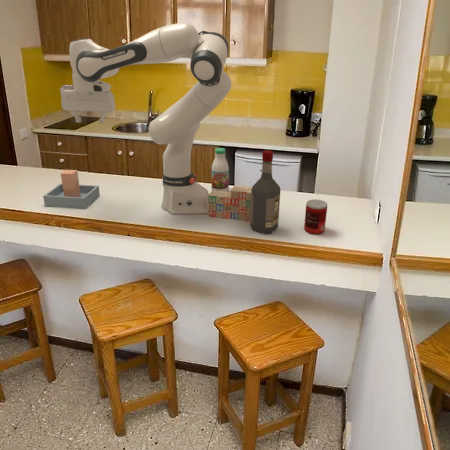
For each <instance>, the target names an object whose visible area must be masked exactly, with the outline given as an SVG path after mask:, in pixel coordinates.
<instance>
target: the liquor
mask: <svg viewBox="0 0 450 450" xmlns="http://www.w3.org/2000/svg"><path fill="white" fill-rule="evenodd" d="M273 159H274V151H273V150H269V149H267V150H263V151H262V159H261V160H262V166H261V167H262V168H261V175H260V178H259V179H258V180H257V181H256V182H255V183H254V184H253V185H252V186H251V187H252V190H251V219H250V222H249V224H250V228H251V230H252V231H253V232H255V231H256V232H255V233H258V232H259V234H262V233H263V235H268V234H269V233H271V234H273V233H274V232H275V231H276V230H277V229H278V228H279V220H280V219H279V218H280V204H281V203H280V202H281V191H282V190H281V187H280V185H279V184H278V182H276V180H275V179H274V178H273V174H272V173H273V170H272V169H273V161H274V160H273Z"/></svg>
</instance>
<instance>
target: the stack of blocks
mask: <svg viewBox="0 0 450 450" xmlns="http://www.w3.org/2000/svg"><path fill="white" fill-rule="evenodd" d="M252 187H253V186H246V185H245V186H244V185H242V186H241V185H234V186H233V187H232V189H231V191H228V192H225V191H215V190H212V189H211V192H210V193H209V213H208V217H210V218H219V219H226V220H234V221H242V222H249V223H250V219H251V190H252Z"/></svg>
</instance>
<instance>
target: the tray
mask: <svg viewBox="0 0 450 450" xmlns="http://www.w3.org/2000/svg"><path fill="white" fill-rule="evenodd" d="M79 186H80V193H81V197H65V196H64V192H63V186H62V183H59V184H58V185H56V186H54V188H51V190H49V191H48V192H46V193H45V194H43V196H42V197H43V204H44V206H45V207H53V208H55V207H56V208H68V209H69V208H70V209H84V210H85V209H87V208H88V207H90V205H91V204H92V203H94V202H95V201H96V200H97V199H98V197H100V194H101V193H100V186H99V185H92V184H91V185H90V184H79Z"/></svg>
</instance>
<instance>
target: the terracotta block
mask: <svg viewBox="0 0 450 450" xmlns="http://www.w3.org/2000/svg"><path fill="white" fill-rule="evenodd" d="M78 173H79V172H78V170H77V169H65V170H63V171H62V172H61V173H60V179H61V184H62V186H63V192H64V196H65V197H81V193H80V186H79V185H80V182H79V181H80V179H79V174H78Z"/></svg>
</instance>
